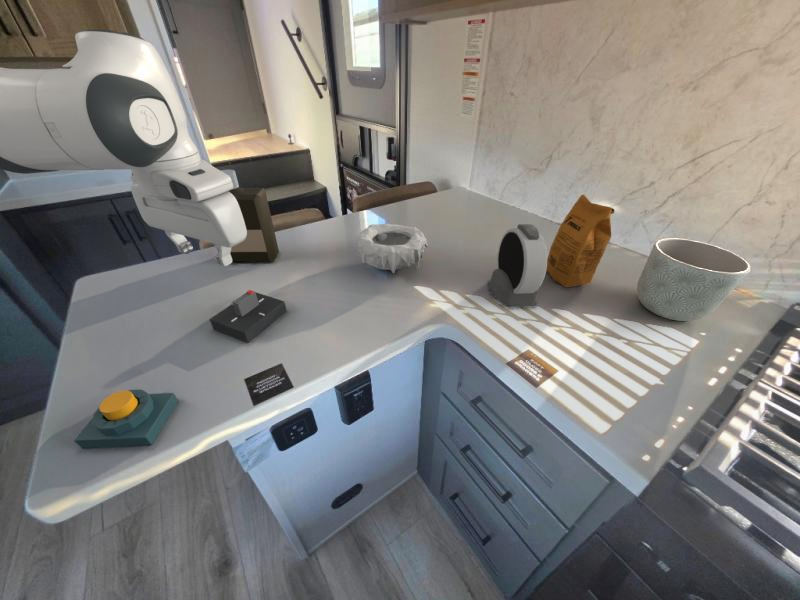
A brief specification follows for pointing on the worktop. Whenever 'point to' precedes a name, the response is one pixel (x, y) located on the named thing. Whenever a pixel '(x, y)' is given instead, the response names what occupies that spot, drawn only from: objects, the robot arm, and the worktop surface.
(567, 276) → the coffee package
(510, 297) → the alarm clock
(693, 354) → the worktop surface
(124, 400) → the trigger button
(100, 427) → the teal button mount
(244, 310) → the grey rectangular block
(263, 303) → the dark grey flat block
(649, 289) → the planter
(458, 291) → the worktop surface
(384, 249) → the bowl
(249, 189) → the bottle
